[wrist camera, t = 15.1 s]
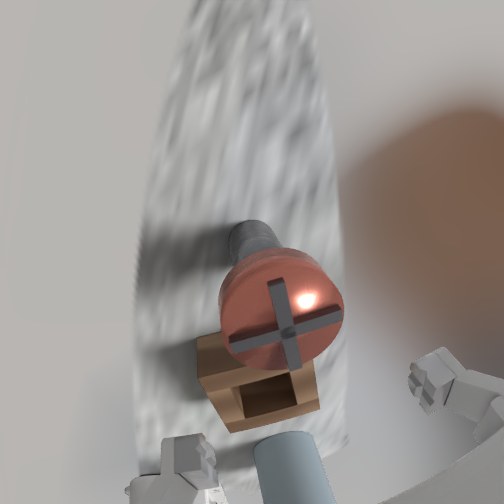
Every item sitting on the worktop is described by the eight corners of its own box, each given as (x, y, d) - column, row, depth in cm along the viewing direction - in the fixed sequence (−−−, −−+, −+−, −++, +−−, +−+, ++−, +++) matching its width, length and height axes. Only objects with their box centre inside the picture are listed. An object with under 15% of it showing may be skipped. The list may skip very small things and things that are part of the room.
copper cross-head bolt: (281, 195, 22) (343, 258, 13) (295, 265, 25) (350, 355, 15) (202, 217, 22) (204, 299, 12) (224, 285, 25) (241, 388, 15)
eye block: (306, 374, 31) (320, 408, 26) (225, 396, 30) (230, 433, 26) (294, 310, 27) (310, 347, 22) (196, 337, 26) (197, 378, 22)
